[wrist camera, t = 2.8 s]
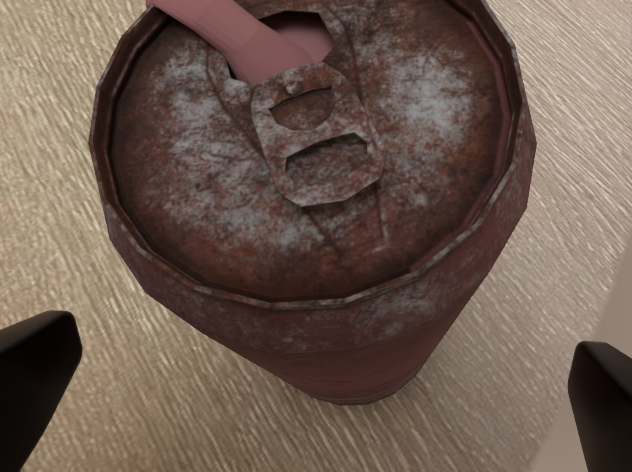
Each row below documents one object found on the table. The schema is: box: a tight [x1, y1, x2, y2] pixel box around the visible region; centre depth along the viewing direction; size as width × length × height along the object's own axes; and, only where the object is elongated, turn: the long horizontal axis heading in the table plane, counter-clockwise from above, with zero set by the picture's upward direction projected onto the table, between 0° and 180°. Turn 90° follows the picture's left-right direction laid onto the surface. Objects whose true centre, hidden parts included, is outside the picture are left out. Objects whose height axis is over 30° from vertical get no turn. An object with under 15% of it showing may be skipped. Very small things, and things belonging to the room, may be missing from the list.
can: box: [88, 0, 537, 405], centre depth 13 cm, size 6×6×14 cm
